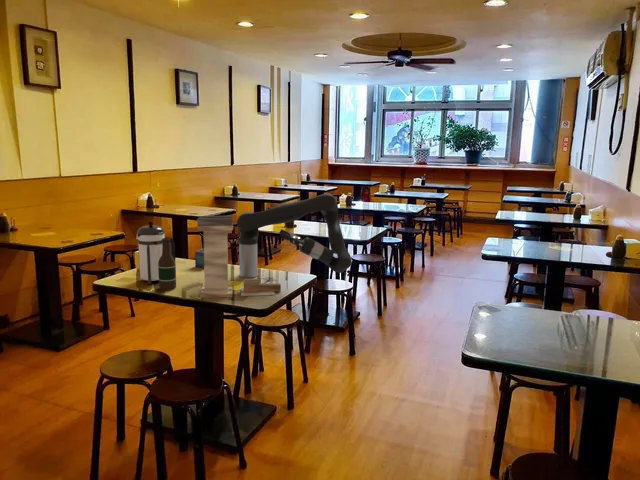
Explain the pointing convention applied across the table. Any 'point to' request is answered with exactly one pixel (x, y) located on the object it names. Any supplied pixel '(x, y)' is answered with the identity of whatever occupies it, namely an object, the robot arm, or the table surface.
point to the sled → (259, 286)
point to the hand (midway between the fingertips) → (281, 232)
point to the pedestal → (215, 255)
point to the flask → (199, 258)
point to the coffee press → (151, 251)
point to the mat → (256, 293)
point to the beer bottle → (166, 267)
